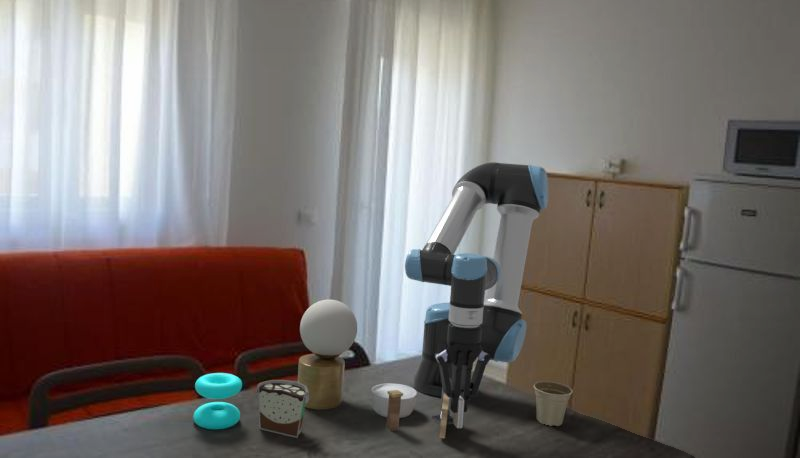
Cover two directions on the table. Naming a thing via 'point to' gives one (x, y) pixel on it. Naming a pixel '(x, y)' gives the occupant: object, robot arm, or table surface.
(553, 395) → the flower pot
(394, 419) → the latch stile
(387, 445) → the table surface
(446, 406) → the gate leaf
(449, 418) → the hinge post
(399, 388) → the ramekin
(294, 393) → the food container
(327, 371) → the lamp
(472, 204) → the robot arm
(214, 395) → the donuts
